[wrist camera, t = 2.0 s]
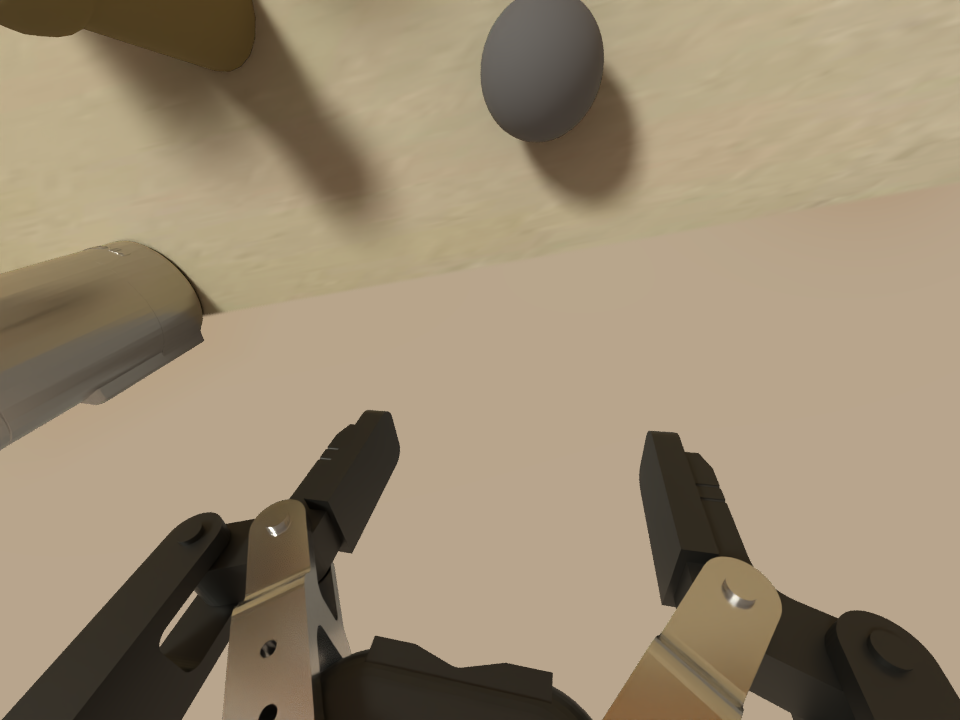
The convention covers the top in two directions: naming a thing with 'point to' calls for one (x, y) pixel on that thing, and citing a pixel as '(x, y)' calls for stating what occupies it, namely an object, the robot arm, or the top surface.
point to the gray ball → (542, 67)
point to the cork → (147, 25)
